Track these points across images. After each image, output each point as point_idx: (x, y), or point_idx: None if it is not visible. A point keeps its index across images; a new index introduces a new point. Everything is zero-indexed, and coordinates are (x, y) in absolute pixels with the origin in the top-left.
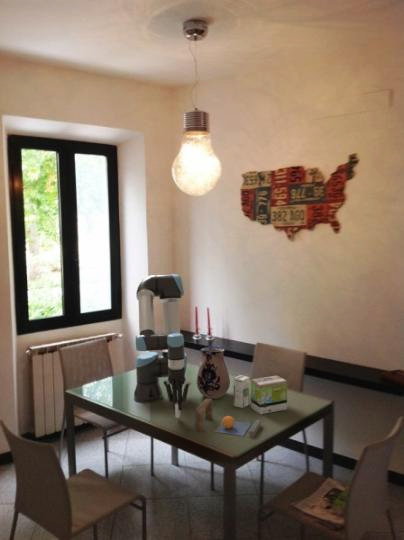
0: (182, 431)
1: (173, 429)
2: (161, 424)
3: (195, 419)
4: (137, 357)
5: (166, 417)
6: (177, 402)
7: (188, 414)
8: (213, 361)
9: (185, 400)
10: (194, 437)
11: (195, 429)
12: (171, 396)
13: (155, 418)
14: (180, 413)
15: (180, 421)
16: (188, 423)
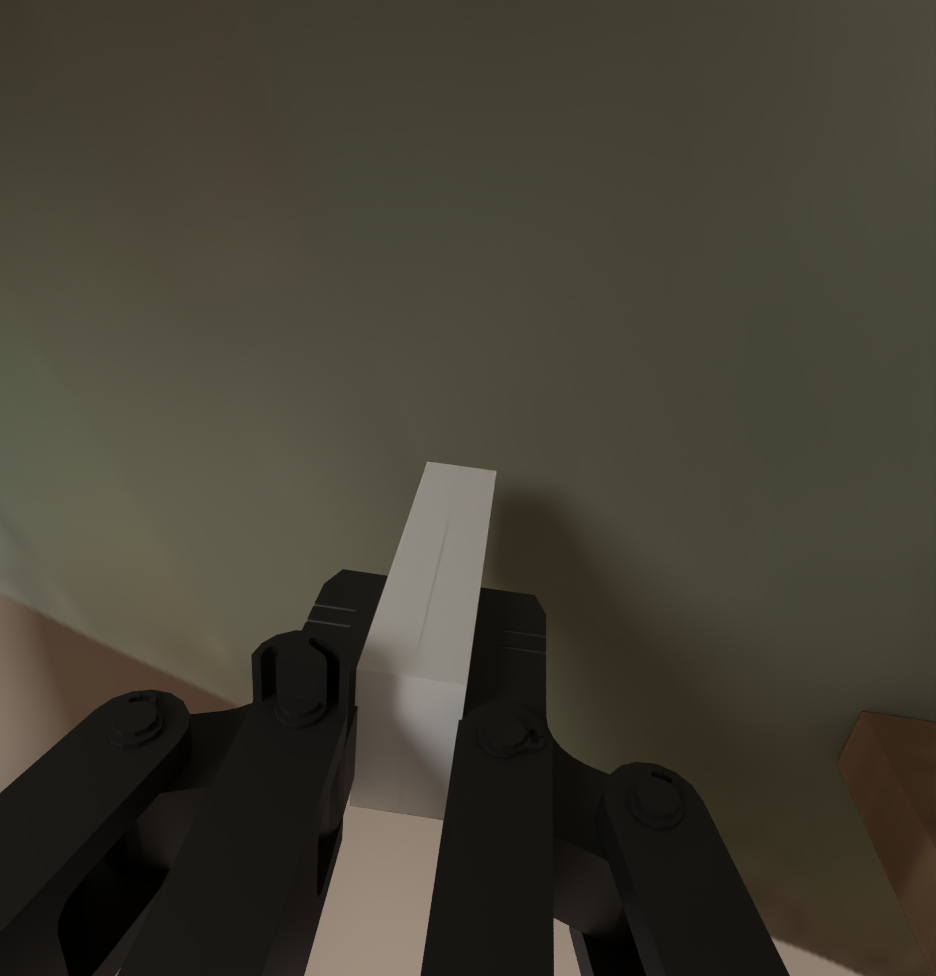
0: None
1: None
2: (251, 651)
3: (928, 940)
4: None
5: (192, 392)
6: (383, 714)
7: (604, 140)
8: None
9: (698, 843)
10: (839, 916)
11: (845, 771)
12: (57, 829)
13: (30, 464)
14: (491, 499)
15: (520, 516)
16: (688, 571)
